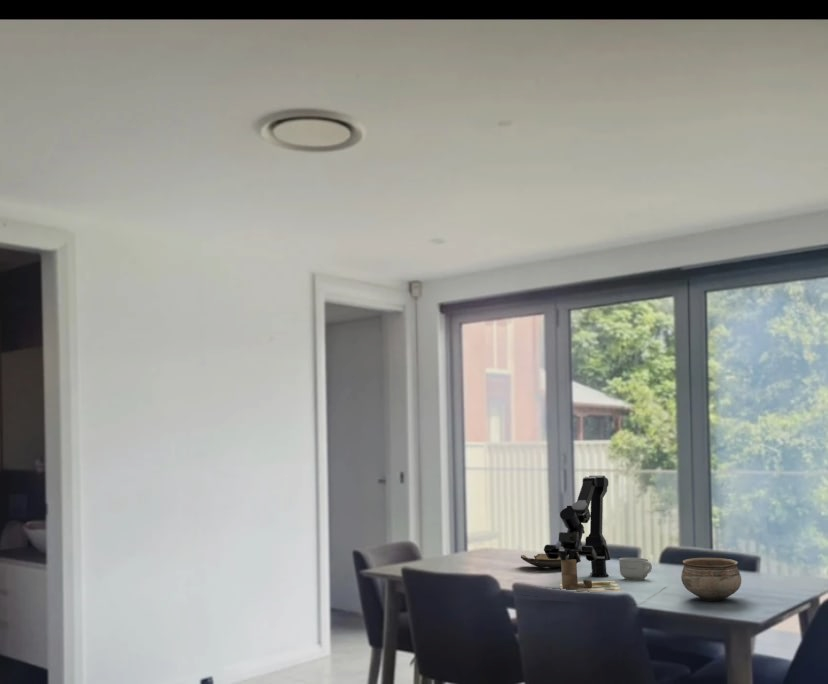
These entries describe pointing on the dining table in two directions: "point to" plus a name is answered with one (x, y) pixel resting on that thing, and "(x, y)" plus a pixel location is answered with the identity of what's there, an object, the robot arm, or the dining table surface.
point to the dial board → (599, 587)
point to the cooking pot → (711, 577)
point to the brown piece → (574, 576)
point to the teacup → (634, 568)
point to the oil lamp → (543, 561)
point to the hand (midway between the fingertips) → (565, 572)
